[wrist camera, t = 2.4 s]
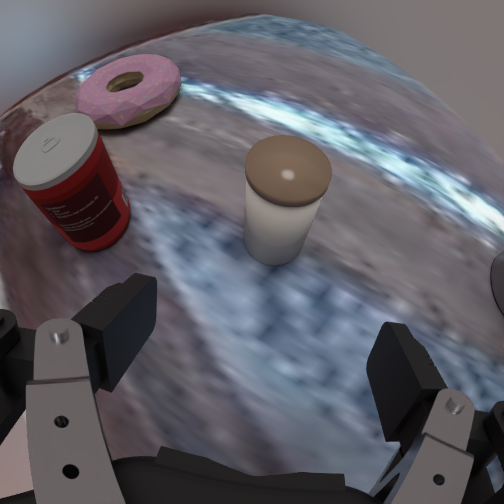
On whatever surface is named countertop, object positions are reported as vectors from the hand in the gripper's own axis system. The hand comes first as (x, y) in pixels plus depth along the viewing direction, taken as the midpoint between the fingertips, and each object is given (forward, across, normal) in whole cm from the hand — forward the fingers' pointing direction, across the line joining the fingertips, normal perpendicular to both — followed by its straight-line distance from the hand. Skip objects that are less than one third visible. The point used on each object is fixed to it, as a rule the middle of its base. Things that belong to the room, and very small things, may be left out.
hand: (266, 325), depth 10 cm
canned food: (+17, +18, +3) cm, 25 cm away
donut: (+31, +23, -10) cm, 40 cm away
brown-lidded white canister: (+18, 0, +2) cm, 18 cm away
